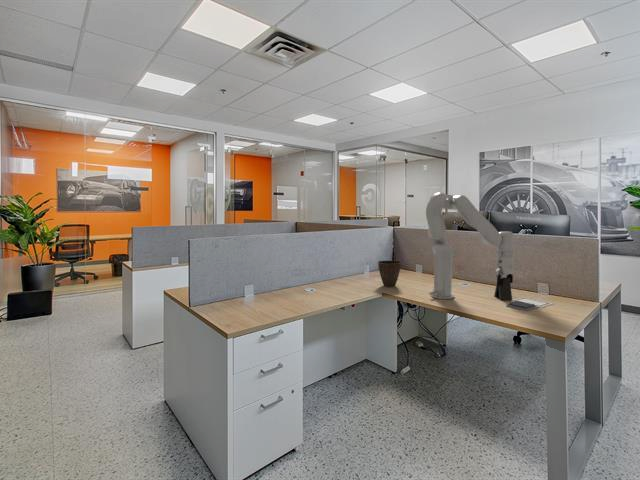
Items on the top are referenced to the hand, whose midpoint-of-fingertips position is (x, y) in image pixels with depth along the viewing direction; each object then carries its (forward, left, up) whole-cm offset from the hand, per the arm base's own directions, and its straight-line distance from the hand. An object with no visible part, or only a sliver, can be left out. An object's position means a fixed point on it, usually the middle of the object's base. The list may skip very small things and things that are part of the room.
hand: (504, 283), depth 186 cm
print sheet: (+3, -12, -8) cm, 15 cm away
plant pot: (-30, +61, -9) cm, 68 cm away
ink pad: (-9, -13, -8) cm, 18 cm away
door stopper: (-1, +1, -9) cm, 9 cm away
